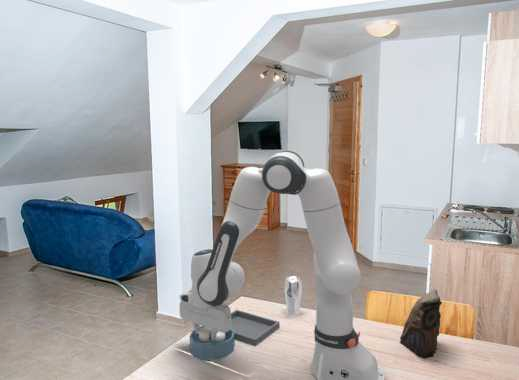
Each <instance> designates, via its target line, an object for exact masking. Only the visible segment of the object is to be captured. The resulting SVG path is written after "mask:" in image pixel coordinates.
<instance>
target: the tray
mask: <svg viewBox="0 0 519 380" xmlns="http://www.w3.org/2000/svg"><path fill="white" fill-rule="evenodd" d="M231 318H232V329H233V330H234V332H235V341H238V342H239V341H240V342H242V343H246V344H249V345H252V346H255V347H256V346H258V345H259V344H260V343H261V342H263V341H264V340H265V339H267V338H268V337H269V336H271V335H272V334H273V333H274V332H276V331H278V329H280V321H277V320H274V319H271V318H267V317H263V316H259V315H256V314H253V313H250V312H247V311H243V310H239V309H234V310H233V311H232V312H231Z"/></svg>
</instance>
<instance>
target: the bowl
mask: <svg viewBox="0 0 519 380" xmlns="http://www.w3.org/2000/svg"><path fill="white" fill-rule="evenodd" d="M199 326H200V328H202V327H205V326H202V325H199ZM235 346H236V339H235V332H234V330H233V329H232V328H231V329H230V330H229V331H228V332H226V333H225V342H221V343H217V344H212V341H211V342H209V343H201V342H200V341H199V336H198V335H196V330H195V329H192V330H191V333H190V334H189V350H190V351H191V355H192V356H193V358H195V359H197V360H200V361H202V362H203V361H204V362H208V361H209V362H210V361H211V359H213V360H215V359H219V358H220V359H221V358H223V357H226V356H228V355H229V354H231V353H233V351H234V349H235Z"/></svg>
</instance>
